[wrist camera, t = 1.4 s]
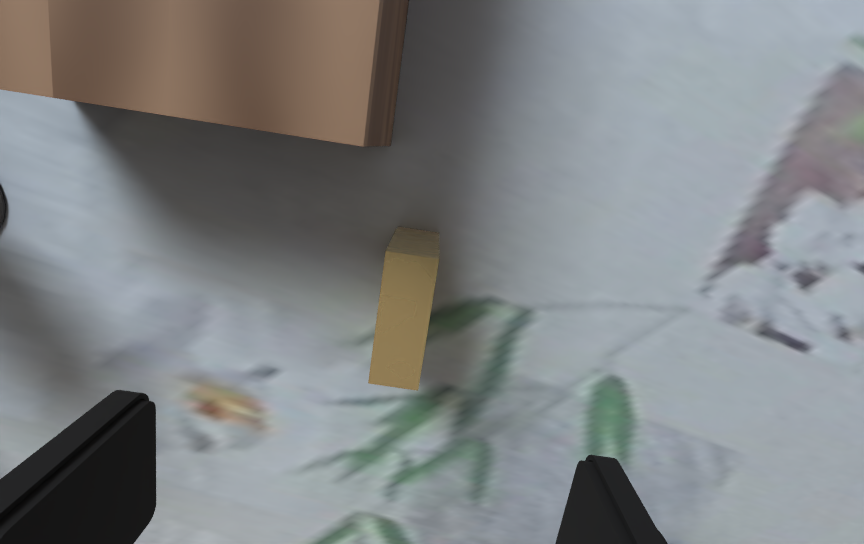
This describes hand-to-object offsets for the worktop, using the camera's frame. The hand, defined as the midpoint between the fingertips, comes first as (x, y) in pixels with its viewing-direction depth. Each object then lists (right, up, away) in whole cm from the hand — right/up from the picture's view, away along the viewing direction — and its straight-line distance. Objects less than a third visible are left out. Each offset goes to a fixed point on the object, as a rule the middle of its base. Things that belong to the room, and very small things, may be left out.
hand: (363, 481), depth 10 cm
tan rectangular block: (0, +4, +15) cm, 16 cm away
